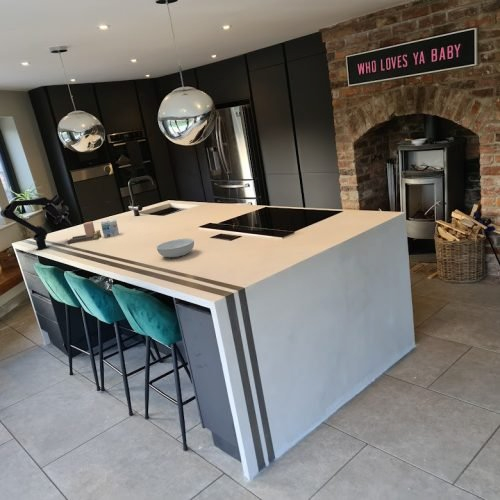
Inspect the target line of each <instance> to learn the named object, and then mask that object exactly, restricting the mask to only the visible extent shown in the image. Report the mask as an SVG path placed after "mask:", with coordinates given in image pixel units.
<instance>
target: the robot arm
mask: <svg viewBox="0 0 500 500" xmlns="http://www.w3.org/2000/svg"><path fill="white" fill-rule="evenodd" d="M63 202H64V199H63V198H62V197H60V196H59V195H57V194H54V195H53V197H51V198H48V197H44V196H39V197H37V198H32V199H20V200H11V201H10V203H9V204H8V205H6V206H5V207H4V208H2V209H1V210H0V216H1V217H2V218H5V219H8V220H10V221H13V222H15V223H17V224H18V225H20V226H22V227H24V228H26V229H27V230H29V231H30V232H32V233H33V234H34V236H33V237H32V238H33V240H34V241H35V243H36V247H37V248H36V249H35V250H36V251H40V250H45V249H47V248H49V246H48V245H47V243H46V239H47V236H48V231H47V230H46V228H43V226H41V225H36V226H35V225H33V224H32V223H30V222H29V221H27V220H25V219H23V218H21V217H20V216H18V215H17V214H16V213H15V210H16V209H17V207H22V206H23V207H25V206H42V207H41V209H42V211H41V212H45V211H46V212H47V213H48V214H50V216H51V217H54V218H55V219H54V220H53V223H54V224H55V225H57V224H58V223H59V224H62V225H66V226H69V227H72V226H73V224H72V223H71V222H70V220H69V219H68V216H69V215H70V213H69V212H68V211H69V210H70V209H69V206H68V205H63V206H62V207H61V208H57V207H59V206H60V205H61V204H62V203H63Z"/></svg>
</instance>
